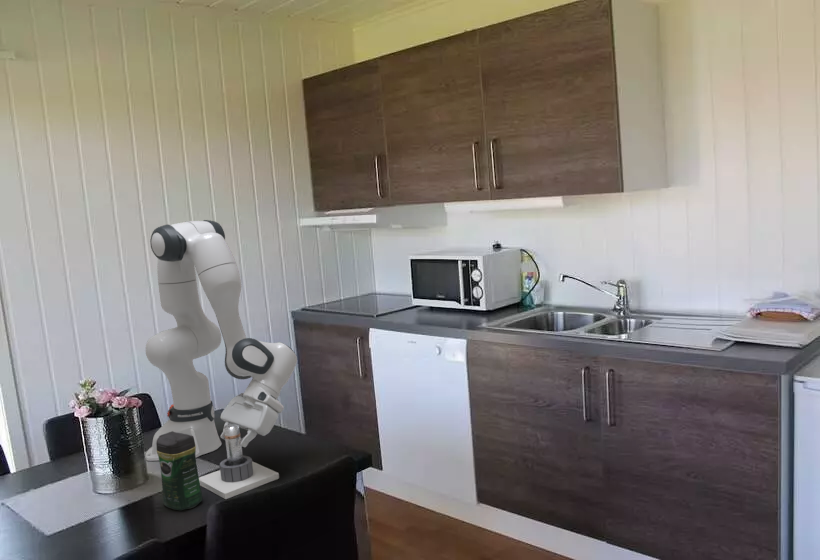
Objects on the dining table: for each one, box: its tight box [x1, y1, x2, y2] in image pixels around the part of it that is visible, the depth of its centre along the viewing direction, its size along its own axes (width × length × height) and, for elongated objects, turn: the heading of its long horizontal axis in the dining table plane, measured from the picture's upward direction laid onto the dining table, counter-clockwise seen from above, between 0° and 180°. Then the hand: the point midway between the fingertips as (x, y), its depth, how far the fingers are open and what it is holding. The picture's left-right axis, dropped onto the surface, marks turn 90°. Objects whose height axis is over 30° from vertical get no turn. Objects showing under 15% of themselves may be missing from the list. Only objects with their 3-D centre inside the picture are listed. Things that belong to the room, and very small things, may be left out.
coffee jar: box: [156, 431, 203, 511], centre depth 177 cm, size 10×8×19 cm
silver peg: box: [223, 424, 244, 466], centre depth 189 cm, size 4×4×14 cm
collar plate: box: [199, 455, 280, 500], centre depth 190 cm, size 16×16×6 cm
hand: (232, 442), depth 189 cm, fingers open, 8 cm apart
